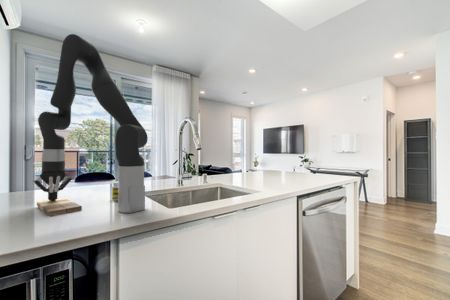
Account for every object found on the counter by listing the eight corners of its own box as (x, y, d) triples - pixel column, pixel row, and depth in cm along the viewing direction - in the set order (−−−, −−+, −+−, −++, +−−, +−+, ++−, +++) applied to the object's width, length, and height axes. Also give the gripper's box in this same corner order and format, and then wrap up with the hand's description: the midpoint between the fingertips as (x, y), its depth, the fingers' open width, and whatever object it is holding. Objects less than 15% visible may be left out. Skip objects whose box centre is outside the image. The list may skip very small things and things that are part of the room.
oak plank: (72, 205, 87) (72, 202, 87) (42, 210, 80) (42, 207, 80) (65, 200, 93) (65, 197, 93) (36, 205, 86) (36, 201, 86)
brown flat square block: (81, 210, 81) (81, 205, 81) (49, 216, 74) (49, 211, 74) (73, 206, 87) (73, 202, 87) (42, 211, 80) (42, 207, 80)
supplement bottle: (112, 201, 96) (112, 182, 96) (112, 199, 100) (112, 181, 100) (123, 199, 98) (123, 182, 98) (123, 197, 102) (123, 180, 102)
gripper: (34, 161, 80) (33, 205, 81) (75, 160, 91) (74, 199, 91) (30, 159, 85) (29, 202, 85) (69, 159, 95) (68, 196, 96)
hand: (52, 200), depth 88 cm, fingers closed
